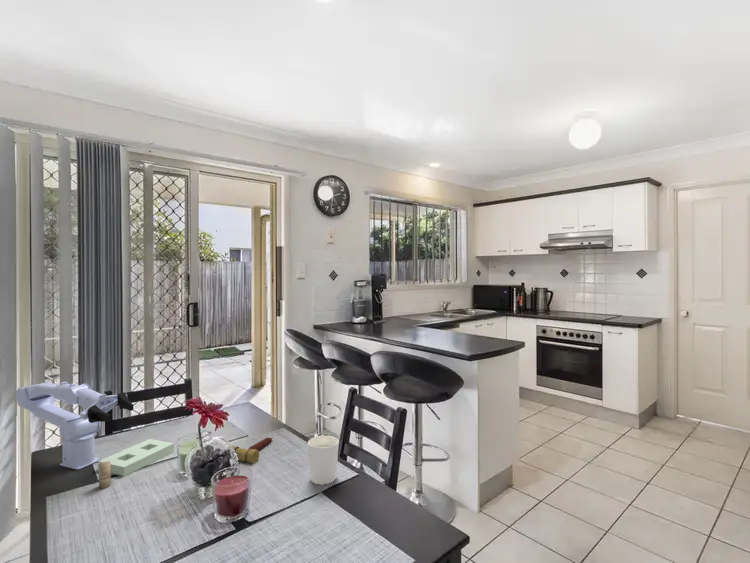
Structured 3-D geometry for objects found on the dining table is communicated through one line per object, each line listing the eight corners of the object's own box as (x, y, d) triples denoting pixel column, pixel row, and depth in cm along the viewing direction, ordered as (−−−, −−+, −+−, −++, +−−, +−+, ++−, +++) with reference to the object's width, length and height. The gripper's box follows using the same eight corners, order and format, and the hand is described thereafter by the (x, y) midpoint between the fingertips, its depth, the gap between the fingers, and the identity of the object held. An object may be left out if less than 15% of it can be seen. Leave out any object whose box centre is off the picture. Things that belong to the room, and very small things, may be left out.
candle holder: (317, 489, 125) (317, 450, 125) (302, 476, 133) (302, 440, 133) (344, 480, 131) (344, 442, 131) (329, 468, 139) (329, 433, 139)
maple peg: (96, 487, 126) (96, 465, 126) (106, 482, 129) (106, 460, 129) (103, 489, 125) (103, 466, 125) (113, 484, 128) (113, 462, 128)
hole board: (98, 470, 137) (98, 461, 137) (149, 446, 156) (149, 438, 156) (124, 476, 133) (124, 467, 133) (173, 451, 152) (173, 443, 152)
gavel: (261, 430, 165) (283, 434, 162) (261, 442, 165) (283, 445, 161) (227, 448, 145) (252, 452, 142) (227, 461, 145) (251, 466, 142)
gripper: (70, 400, 132) (97, 412, 126) (114, 381, 145) (140, 392, 139) (72, 419, 134) (99, 432, 128) (116, 399, 146) (142, 410, 141)
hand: (121, 412), depth 134 cm, fingers open, 7 cm apart
